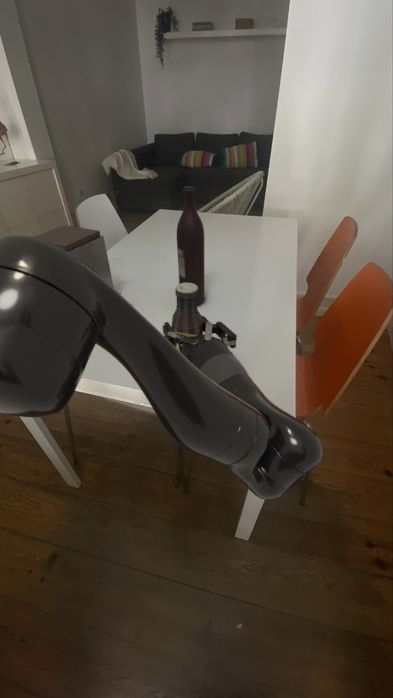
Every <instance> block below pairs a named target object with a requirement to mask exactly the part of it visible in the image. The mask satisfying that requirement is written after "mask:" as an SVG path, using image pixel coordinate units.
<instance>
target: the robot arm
mask: <svg viewBox="0 0 393 698" xmlns="http://www.w3.org/2000/svg"><path fill="white" fill-rule="evenodd" d="M201 316H202V319H203V334H199V335H197V336H193V337H187V336H185V335H183V334H180V335H178V334H176V333H174V330H173V329H172V327H171V326H172V325H171V324H170V322H169V321H166V322H164V323H163V325H162V332H161V331H160V330H159V329H158V328H157V327H156V326H155V325H154V324H152V323H151V322H150V320H149V319H147V318H146V317H145V315H142V313H140V312H139V310H137V308H136V307H134V306H133V305H132V304H131V303H130V301H128V300H127V299H126V298H125V297H124V296H122V294H121V293H120V292H118V291H117V290H116V288H115V287H114V288H113V287H112V286H111V285H110V284H109V283H107V282H106V281H105V280H104V279H103V278H102V277H101V276H99V275H98V274H97V273H96V272H95V271H93V270H92V269H91V268H90V267H89V266H87V265H86V264H85V263H83V262H82V261H81V260H79V259H78V258H76V257H75V256H73V255H71V254H70V253H68V252H67V251H65V250H63V249H62V248H60V247H58V246H57V245H55V244H52V243H50V242H47V241H45V240H42V239H40V238H37V237H35V236H32V235H28V234H22V233H10V234H4V235H0V414H2V415H7V416H13V417H22V418H43V417H50V416H53V415H56V414H58V413H59V412H61V411H62V410H63V409H64V408H65V407H66V406H67V405H68V403H69V402H70V401H71V399H72V397H73V396H74V394H75V392H76V390H77V388H78V385H79V383H80V382H81V380H82V377H83V374H84V372H85V369H86V367H87V365H88V363H89V360H90V358H91V356H92V354H93V352H94V349H95V346H96V345H97V346H98V347H100V348H101V349H103V350H104V351H106V352H107V353H108V354H109V355H110V356H112V357H113V358H114V359H115V360H116V361H117V362H119V364H121V366H123V368H124V369H125V370H126V371H127V372H128V374H129V375H130V376H131V378H132V379H133V380H134V381H135V383H136V384H137V385H138V387H139V388H140V390H141V392H142V394H143V395H144V396H145V398H146V400H147V401H148V403H149V404H150V406H151V408H152V410H153V411H154V413H155V415H156V416H157V418H158V419H159V421H160V422H161V424H162V425H163V427H164V428H165V430H166V431H167V432H168V434H169V435H170V436H171V437H172V438H174V440H176V441H177V442H178V444H180V445H181V446H183V447H184V449H187V450H189V451H191V452H192V453H195V454H196V455H199V456H201V457H203V458H205V459H208V460H210V461H212V462H215V463H216V464H219V465H222V466H224V467H225V468H226V469H228V470H229V471H230V472H231V473H232V474H233V475H235V476H236V477H237V478H238V479H239V480H240V481H241V482H242V483H243V484H244V486H245V487H246V488H247V489H248V490H249V491H250V492H251V493H252V494H253V495H254V496H255V497H257V498H259V499H261V500H267V501H271V500H276V499H279V498H281V497H283V496H284V495H285V494H287V492H289V491H290V490H291V489H292V488H293V487H294V486H295V485H297V484H298V482H300V481H301V480H303V478H305V477H306V476H307V475H308V474H309V473H310V472H312V471H313V470H314V469H315V468H316V467H317V466H318V465H319V464H320V463H321V461H322V459H323V455H324V451H323V445H322V442H321V439H320V438H319V436H318V435H317V433H316V432H315V431H314V430H313V429H312V428H311V427H310V426H308V425H307V424H306V423H304V422H303V421H301V420H300V419H298V418H297V417H295V416H294V415H292V414H290V413H289V412H287V411H285V410H284V409H283V408H281V407H279V406H278V405H277V404H275V403H274V402H273V401H272V400H271V399H270V398H269V397H268V396H267V395H265V393H264V392H263V391H262V389H260V388H259V386H258V385H257V384H256V383H255V381H254V380H253V379H252V378H251V376H250V374H249V372H248V371H247V370H246V368H245V367H244V365H243V364H242V363H241V361H239V359H238V358H237V356H235V355H234V353H233V352H232V350H231V349H235V348H237V341H238V340H237V337H238V335H237V334H236V332H234V331H232V330H231V329H230V328H229V326H227V325H225V324H224V323H223V322H222V321H216V322H215V323H213V322H211V321H209V320H208V318H207V317H206V316H204V315H202V314H201ZM213 334H215V335H216V336H217V337H215V336H213ZM229 348H230V349H229Z"/></svg>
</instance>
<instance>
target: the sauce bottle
mask: <svg viewBox="0 0 393 698" xmlns="http://www.w3.org/2000/svg"><path fill="white" fill-rule="evenodd" d="M174 294H175V296H176V309H175V311H174V313H173V315H172V318H171V325H170V326H171V327H172V329H173V330H174V333H176V334H178V335H180V334H183V335H185V336H187V337H193V336H197V335H199V334H203V335H204V332H203V319H202V316H203V315H202V314H201V313H200V311H199V310H198V306H197V296H198V287H197V285H195V284H193V283H181V284H179V283H178V284H177V285H176V286H175V293H174ZM201 315H202V316H201Z"/></svg>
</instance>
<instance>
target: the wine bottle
mask: <svg viewBox="0 0 393 698" xmlns="http://www.w3.org/2000/svg"><path fill="white" fill-rule="evenodd" d="M182 195H183V210H182V212H181V215H180V217H179V219H178V222H177V226H176V251H177V266H178V267H177V268H178V284H181V283H193V284H195V285H197V287H198V296H197V307H198V306H200V305H202V304H204V302H205V229H204V224H203V221H202V218H201V217H200V215H199V213H198V211H197V209H196V202H195V201H196V198H195V195H196V188H195V186H194V185H186V186H183V188H182Z"/></svg>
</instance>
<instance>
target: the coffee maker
mask: <svg viewBox="0 0 393 698" xmlns="http://www.w3.org/2000/svg"><path fill="white" fill-rule="evenodd" d="M34 237H37V238H40V239H42V240H45V241H47V242H50V243H52V244H55V245H57V246H58V247H60V248H62V249H63V250H65V251H67V252H68V253H70V254H71V255H73V256H75V257H76V258H78V259H79V260H81V261H82V262H83V263H85V264H86V265H87V266H89V267H90V268H91V269H92V270H93V271H95V272H96V273H97V274H98V275H99V276H101V277H102V278H103V279H104V280H105V281H106V282H107V283H109V284H110V285H111V286H112V287H113V288H114V289H115V287H114V282H113V276H112V271H111V266H110V262H109V257H108V250H107V246H106V241H105V236H104V235H101V231H100V230H96V229H92V228H91V229H90V228H86V227H79V226H72V225H66V224H63V225H61V226H59V227H56V228H53V229H50V230H48V231H45V232H43V233H40V234H38V235H35V236H34Z"/></svg>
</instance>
